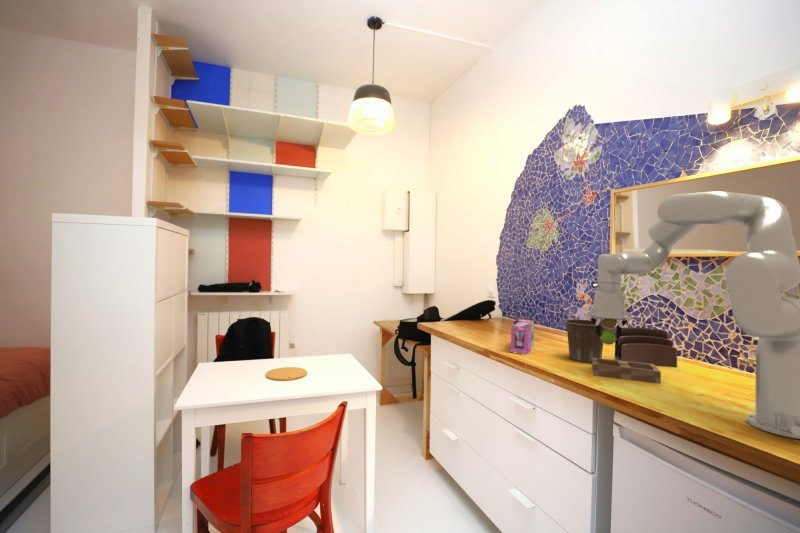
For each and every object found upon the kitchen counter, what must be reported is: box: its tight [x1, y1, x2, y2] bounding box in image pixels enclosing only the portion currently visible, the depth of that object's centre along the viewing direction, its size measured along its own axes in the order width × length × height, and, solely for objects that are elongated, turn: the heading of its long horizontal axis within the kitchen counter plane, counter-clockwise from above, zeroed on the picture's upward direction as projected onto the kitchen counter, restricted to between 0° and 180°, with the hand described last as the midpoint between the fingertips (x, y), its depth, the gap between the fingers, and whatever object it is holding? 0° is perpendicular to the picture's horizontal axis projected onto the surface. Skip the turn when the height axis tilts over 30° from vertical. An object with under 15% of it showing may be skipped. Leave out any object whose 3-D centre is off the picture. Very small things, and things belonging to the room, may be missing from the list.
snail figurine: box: [600, 318, 618, 345], centre depth 136 cm, size 5×6×12 cm
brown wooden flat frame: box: [591, 357, 662, 384], centre depth 134 cm, size 12×20×4 cm, turn 65°
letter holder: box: [614, 326, 678, 368], centre depth 154 cm, size 10×20×14 cm, turn 74°
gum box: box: [509, 317, 535, 355], centre depth 175 cm, size 24×8×14 cm, turn 154°
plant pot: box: [564, 318, 606, 364], centre depth 156 cm, size 16×16×16 cm
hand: (608, 336), depth 136 cm, fingers closed on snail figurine, 5 cm apart
